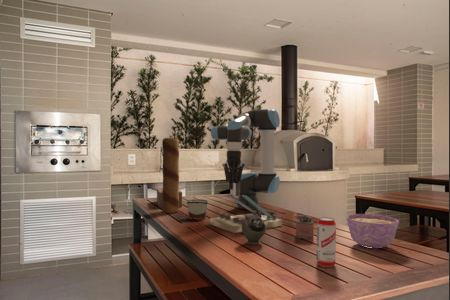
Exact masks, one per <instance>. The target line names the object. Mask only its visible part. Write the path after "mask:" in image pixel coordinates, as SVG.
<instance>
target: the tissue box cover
mask: <svg viewBox="0 0 450 300" xmlns="http://www.w3.org/2000/svg"><path fill="white" fill-rule="evenodd" d="M156 202H157V205H158V207H159V209H161V208H162V209H163V187H158V188H156ZM182 207H183V192H182V191H181V190H180V189H179V208H182Z"/></svg>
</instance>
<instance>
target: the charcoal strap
mask: <svg viewBox="0 0 450 300" xmlns="http://www.w3.org/2000/svg"><path fill="white" fill-rule="evenodd" d="M226 197H228V198H230V199H232V200H234V201H235V202H236V203H237V202H238V203H239V204H240V205H242V206H243V207H245V208H246V209H245V210H248V211H249V212H251V214H252V213H254V214H256V215H258V211H257V210H256V211H254V210H255V209H251V208H250V207H248V206H247V205H245V204H244V203H242V202H241V201H239V200H238V198H237V197H235V196H232V195H230V193H229V194H228V193H227V195H226Z"/></svg>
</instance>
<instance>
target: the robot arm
mask: <svg viewBox="0 0 450 300" xmlns="http://www.w3.org/2000/svg"><path fill="white" fill-rule="evenodd" d="M280 119H281V118H280V115H279V112H278V111H277V109H273V108H269V109H251V110H247V111H246V112H243V113H240V114H239V115H238V116H237V117H236V118H233V120H228V121H227V123H224V124H221V125H219V126H218V125H217V126H212V127H211V130H210V134H211V135H210V136H211V138H212V140H218V141H220V140H221V141H222V140H225V141H226V149H227V151H226V160H225V161H226V162H224V163H222V167H223V171H224V176H225V181H226V183H229V187H228V188H229V190H230V193H229V195H232V196H233V197H235V196H237V189H238V198H237V199H238V200H239V201H241V202H242V203H244V204H245V205H247V206H248V207H250V208H251V209H253V210H258V209H257V208H256V207H255V206H254V205H252V204H251V203H250V202H249V201H247V200H246V199H245V198H244V197H242V195H246V196H248V197H249V198H250V199H251V200H252V201H254V202H255V203H256V204H257V205H259V201H258V200H259V199H258V198H257V193H261V194H267V195H268V194H276V193H277V192H278V190H279V187H280V182H281V181H280V176H279V175H277V171H276V170H275V132H277V128H279V127H280V123H281V120H280ZM251 128H252V129H253V128H257V129H258V132H259V133H260V170H259V171H258V173H257V171H256V172H245V173H243V169H244V167H245V163H242V160H241V158H242V141H246V140H249V139H250V138H251V137H252V130H251ZM235 205H236V206H235V208H237V209H240V210H247V209H246V208H245V207H243V206H242V205H240V204H239V203H238V202H236V203H235ZM259 206H260V205H259Z"/></svg>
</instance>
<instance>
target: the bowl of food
mask: <svg viewBox="0 0 450 300" xmlns="http://www.w3.org/2000/svg"><path fill="white" fill-rule="evenodd" d="M346 221H347V226H348V231H349V235H350V237H351V239H352V241H354V242H355V243H357V244H358V245H360V246H361V245H363V246H367V247H372V248H380V247H382V248H386V247H388V246H390V245H391V244H392V243H393V241H394V239H395V237H396V233H397V230H398V226H399V223H400V221H399V220H398V219H397V218H394V217H391V216H386V215H380V214H369V213H362V214H361V213H356V214H355V213H354V214H349V215H347V216H346Z"/></svg>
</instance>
